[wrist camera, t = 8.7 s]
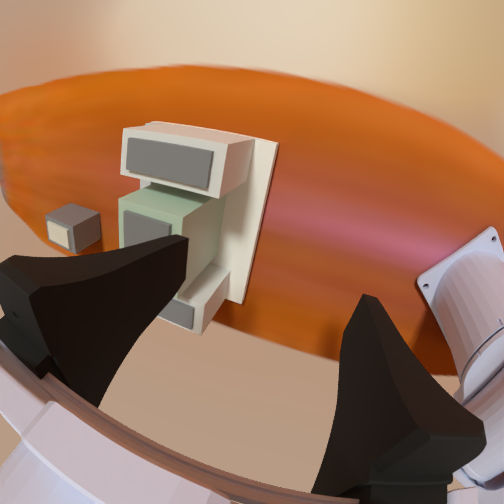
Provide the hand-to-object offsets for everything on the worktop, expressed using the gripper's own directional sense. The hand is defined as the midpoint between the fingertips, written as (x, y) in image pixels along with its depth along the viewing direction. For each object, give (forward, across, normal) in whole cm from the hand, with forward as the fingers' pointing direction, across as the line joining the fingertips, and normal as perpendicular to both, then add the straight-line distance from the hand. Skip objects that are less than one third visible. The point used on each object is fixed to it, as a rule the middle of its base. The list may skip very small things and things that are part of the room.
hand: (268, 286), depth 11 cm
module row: (+10, +8, +3) cm, 13 cm away
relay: (+10, +22, +7) cm, 25 cm away
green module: (+10, +8, +2) cm, 13 cm away
